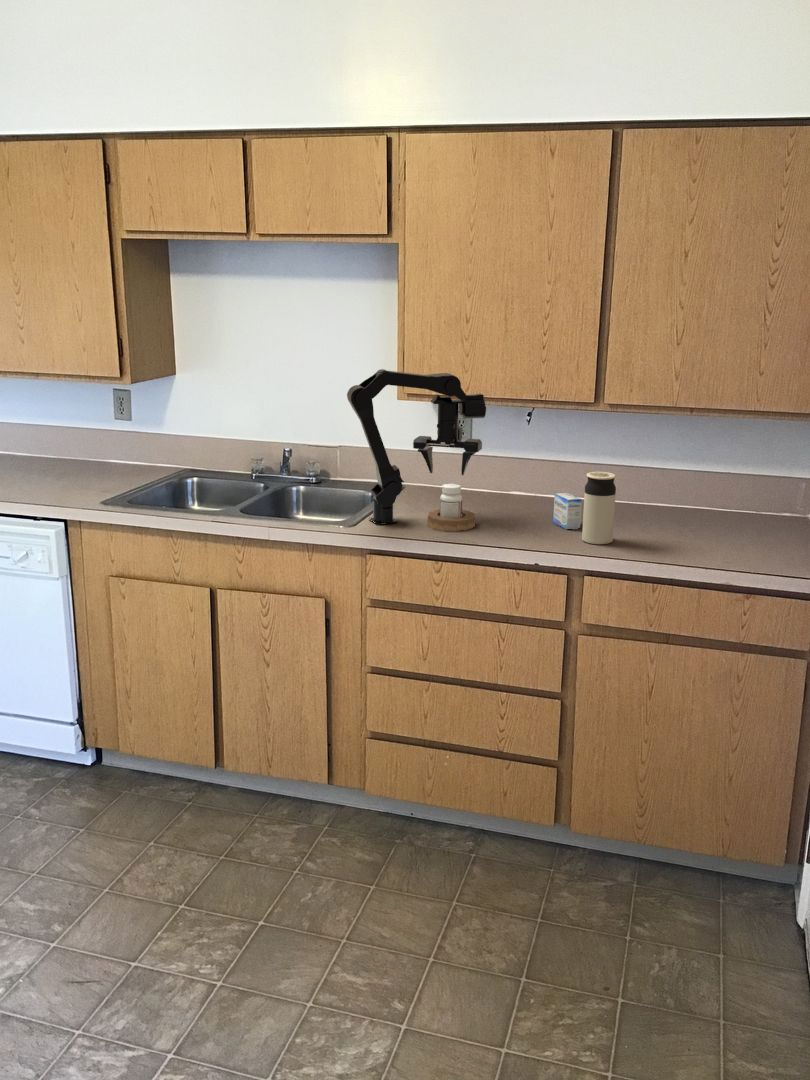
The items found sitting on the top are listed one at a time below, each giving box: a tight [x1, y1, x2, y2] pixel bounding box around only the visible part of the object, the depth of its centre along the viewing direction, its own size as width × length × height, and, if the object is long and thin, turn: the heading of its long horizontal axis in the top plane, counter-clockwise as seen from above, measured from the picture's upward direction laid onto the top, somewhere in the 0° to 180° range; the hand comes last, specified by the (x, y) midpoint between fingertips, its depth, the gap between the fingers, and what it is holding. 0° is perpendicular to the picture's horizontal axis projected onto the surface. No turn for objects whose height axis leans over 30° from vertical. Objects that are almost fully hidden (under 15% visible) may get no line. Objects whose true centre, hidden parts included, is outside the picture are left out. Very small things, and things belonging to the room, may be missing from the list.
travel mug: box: [581, 471, 617, 545], centre depth 264 cm, size 8×8×18 cm
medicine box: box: [552, 492, 583, 530], centre depth 279 cm, size 8×4×9 cm, turn 21°
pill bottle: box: [439, 483, 463, 518], centre depth 280 cm, size 6×6×11 cm
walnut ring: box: [427, 509, 476, 532], centre depth 281 cm, size 13×13×3 cm
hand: (447, 474), depth 284 cm, fingers open, 9 cm apart
